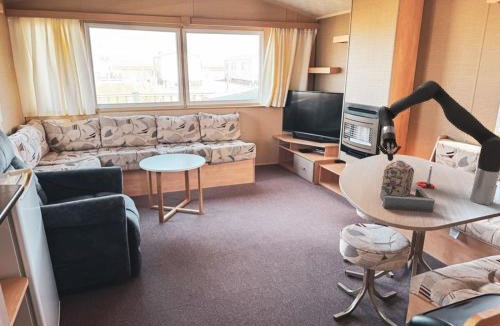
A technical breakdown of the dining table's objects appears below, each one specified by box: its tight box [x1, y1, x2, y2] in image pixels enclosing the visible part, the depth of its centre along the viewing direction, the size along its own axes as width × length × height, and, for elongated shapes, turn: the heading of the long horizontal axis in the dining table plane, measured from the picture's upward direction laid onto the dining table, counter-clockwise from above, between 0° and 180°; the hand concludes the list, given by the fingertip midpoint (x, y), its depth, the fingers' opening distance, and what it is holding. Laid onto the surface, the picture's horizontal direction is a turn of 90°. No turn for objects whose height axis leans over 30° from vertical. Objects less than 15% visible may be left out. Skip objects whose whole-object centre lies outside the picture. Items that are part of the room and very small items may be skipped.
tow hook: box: [416, 165, 435, 189], centre depth 190 cm, size 8×13×9 cm
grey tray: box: [379, 185, 436, 213], centre depth 164 cm, size 15×22×7 cm
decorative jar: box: [381, 159, 415, 196], centre depth 177 cm, size 12×12×18 cm
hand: (390, 160), depth 191 cm, fingers closed
